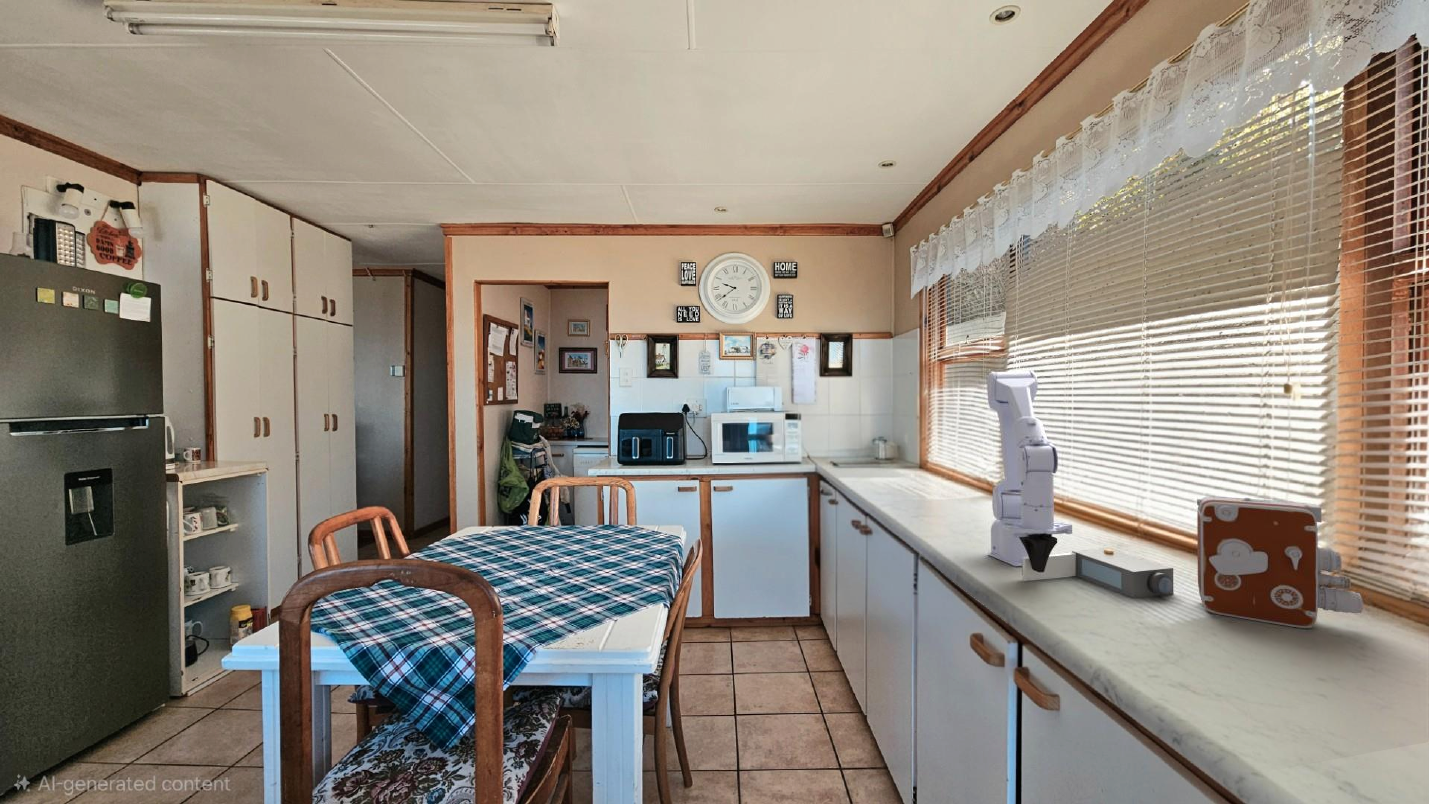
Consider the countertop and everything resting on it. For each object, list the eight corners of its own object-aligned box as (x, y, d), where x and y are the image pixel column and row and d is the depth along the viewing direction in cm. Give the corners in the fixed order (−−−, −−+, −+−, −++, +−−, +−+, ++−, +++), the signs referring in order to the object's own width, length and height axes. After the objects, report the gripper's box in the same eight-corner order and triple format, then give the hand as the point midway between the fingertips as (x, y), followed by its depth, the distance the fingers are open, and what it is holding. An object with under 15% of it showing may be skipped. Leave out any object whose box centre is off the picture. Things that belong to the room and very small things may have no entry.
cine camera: (1371, 643, 84) (1370, 512, 84) (1201, 615, 96) (1200, 499, 95) (1351, 622, 91) (1351, 502, 91) (1196, 598, 103) (1195, 491, 103)
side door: (1071, 573, 117) (1071, 551, 117) (1077, 575, 116) (1077, 553, 116) (1020, 578, 115) (1020, 556, 115) (1025, 580, 114) (1025, 558, 114)
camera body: (1072, 574, 117) (1071, 548, 117) (1108, 571, 119) (1108, 545, 119) (1142, 602, 102) (1142, 571, 102) (1183, 597, 103) (1183, 567, 103)
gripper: (1020, 510, 107) (1021, 580, 107) (1084, 506, 110) (1085, 574, 110) (995, 503, 114) (996, 569, 114) (1056, 499, 116) (1057, 563, 117)
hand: (1038, 570), depth 112 cm, fingers closed, pressing on side door
